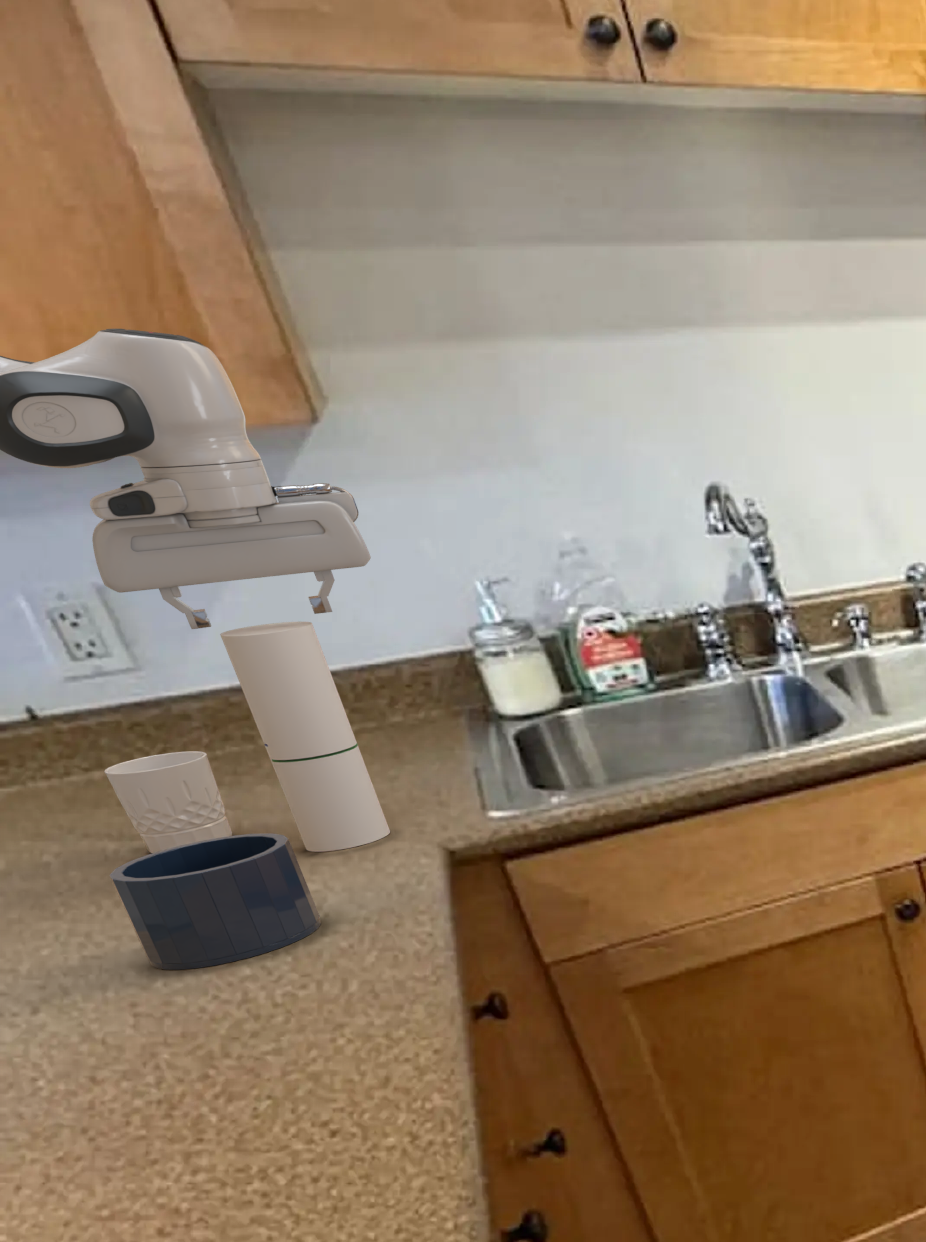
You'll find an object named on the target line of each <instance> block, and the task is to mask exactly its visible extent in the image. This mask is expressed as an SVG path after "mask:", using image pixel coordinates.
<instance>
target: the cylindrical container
mask: <svg viewBox="0 0 926 1242" xmlns="http://www.w3.org/2000/svg"><path fill="white" fill-rule="evenodd" d="M219 635H220V638H221V641H222V643H223V645H224V648H225V650H226V653H227V655H228V658H229V660H230V662H231V665H232V667H233V670H234V672H235V675H236V677H237V680H238V682H239V685H240V687H241V690H242V692H243V694H244V697H245V700H246V703H247V705H248V707H249V710H250V713H251V715H252V717H253V720H254V722H255V725H256V727H257V730H258V732H259V735H260V738H261V740H262V743H263V744H264V748H265V750H266V752H267V755H268V758H269V760H270V762H271V765H272V767H273V769H274V771H275V775H276V777H277V780H278V782H279V785H280V787H281V790H282V792H283V794H284V797H285V800H286V802H287V805H288V807H289V810H290V812H291V815H292V817H293V820H294V822H295V825H296V827H297V830H298V832H299V835H300V838H301V840H302V843H303V846H304V847H305V850H306V851H308V852H313V853H314V852H316V853H318V852H319V853H320V852H321V853H323V852H334V851H341V850H345V849H350V848H355V847H359V846H363V845H367V844H370V843H373V842H376V841H379V840H381V839H383V838H385V837H387V836H389V834H390V833H391V830H390V827H389V826H388V821H387V819H386V816H385V813H384V811H383V809H382V806H381V803H380V801H379V798H378V795H377V792H376V790H375V787H374V784H373V782H372V780H371V779H372V778H371V776H370V774H369V771H368V768H367V766H366V763H365V761H364V758H363V755H362V753H361V750H360V747H359V744H358V742H357V740H356V736H355V734H354V732H353V729H352V726H351V723H350V720H349V717H348V716H347V713H346V709H345V707H344V705H343V702H342V699H341V696H340V693H339V692H338V688H337V686H336V684H335V681H334V678H333V675H332V673H331V670H330V667H329V664H328V662H327V660H326V656H325V655H324V654H325V653H324V652H323V649H322V646H321V643H320V641H319V637H318V635H317V633H316V630H315V628H314V624H313V623H312V622H311V621H283V622H282V621H281V622H273V623H264V624H257V625H250V626H249V625H248V626H244V627H239V628H234V629H230V630H226V631H223V632H221V633H220V634H219Z"/></svg>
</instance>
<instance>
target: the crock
mask: <svg viewBox="0 0 926 1242" xmlns="http://www.w3.org/2000/svg"><path fill="white" fill-rule="evenodd" d="M109 879H110V881H111V883H112V885H113V887H114V889H115V891H116V893H117V895H118V898H119V900H120V902H121V904H122V907H123V909H124V910H125V914H126V915H127V917H128V920H129V921H130V924H131V926H132V928H133V931H134V933H135V935H136V937H137V940H138V942H139V944H140V946H141V949H142V950H143V952H144V954H145V957H146V958H147V960H148V962H149V964H150V966H151V967H153V968H155V969H159V970H166V971H177V970H180V971H181V970H191V969H200V968H201V969H202V968H207V967H213V966H214V967H215V966H220V965H224V964H229V963H233V962H239V961H241V960H246V959H249V958H252V957H256V956H259V955H263V954H266V953H270V952H273V951H276V950H278V949H280V948H284V947H286V946H288V945H291V944H293V943H296V942H298V941H300V940H302V939H304V938H307V937H308V936H310V935H311V934H313V933H314V932H316V931H317V930H318V929H319V928H320V926H321V925H322V920H321V919H320V913H319V911H318V909H317V906H316V904H315V900H314V898H313V896H312V894H311V890H310V888H309V886H308V884H307V881H306V879H305V876H304V874H303V871H302V869H301V866H300V864H299V861H298V858H297V857H296V854H295V852H294V849H293V847H292V844H291V842H290V839H289V838H288V837H287V836H285V835H283V834H278V833H246V834H236V835H232V836H227V837H221V838H215V839H209V840H204V841H199V842H195V843H190V844H186V845H181V846H177V847H173V848H169V849H166V850H162V851H159V852H155V853H149V854H146V855H143V856H140V857H138V858H135V859H132V860H129V861H128V862H125V863H123V864H121V865H120V866H118V867H116V868H115V869H113V871H112V872H110V874H109Z"/></svg>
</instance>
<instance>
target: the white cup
mask: <svg viewBox="0 0 926 1242" xmlns="http://www.w3.org/2000/svg"><path fill="white" fill-rule="evenodd" d="M103 772H104V774H105V776H106V777H107V779H108V781H109V783H110V785H111V788H113V791H114V793H115V795H116V797H117V799H118V800H119V803H120V805H121V807H122V808H123V810H124V812H125V813H126V816H127V818H128V819H129V821H130V823H132V826H133V828H134V830H135V831H136V832H137V833H138V835H139V837H140V838H141V841H142V842H143V845H144V847H145V849H146V850H147V851H148V852H149V853H150V854H152V853H155V852H159V851H162V850H166V849H169V848H173V847H177V846H181V845H186V844H190V843H195V842H199V841H204V840H209V839H215V838H221V837H227V836H233V831H232V828H231V826H230V822H229V820H228V817H227V816H226V807H225V805H224V802H223V799H222V795H221V792H220V789H219V785H218V783H217V780H216V778H215V774H214V772H213V768H212V766H211V763H210V760H209V757H208V754H207V753H206V752H204V751H196V750H193V751H191V750H190V751H176V752H175V751H174V752H167V753H161V754H155V755H148V756H144V757H138V758H134V759H131V760H126V761H123V762H119V763H116V764H114V765H111V766H108V767H107V768H105V770H104V771H103Z"/></svg>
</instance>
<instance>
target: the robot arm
mask: <svg viewBox="0 0 926 1242" xmlns="http://www.w3.org/2000/svg"><path fill="white" fill-rule="evenodd" d="M0 451H1V452H3V453H5V454H7V455H9V456H10V457H13V458H15V459H18V460H21V461H23V462H27V463H29V464H33V465H37V466H41V467H46V468H54V469H77V468H84V467H89V466H93V465H97V464H102V463H105V462H109V461H111V460H113V459H116V458H119V457H120V458H121V457H132V458H133V459H135V460H136V461H137V463H138V464H139V467H140V470H141V472H142V475H143V480H141V481H138V482H135V483H134V482H129V483H125V484H123V485H121V486H120V487H117V488H114V489H111V490H108V491H105V492H102V493H99V494H97V495H95V496H93V497H92V498H91V499H90V500H89V507H90V509H91V511H92V513H93V514H94V515H95V516H96V517H97V518H99V519H102V520H101V521H99V523H97V524H96V525H95V528H94V530H93V532H92V537H91V539H92V541H91V542H92V549H93V554H94V558H95V562H96V566H97V569H98V573H99V575H100V578H101V581H102V584H103V585H104V586H105V587H107V588H108V589H110V590H112V591H114V592H116V593H132V592H139V591H141V592H142V591H148V590H149V591H150V590H159V593H160V595H161V597H162V600H164V602H166V603H168V604H169V605H171V606H172V607H173V608H175V609H176V610H178V611H179V612H180V613H182V614H185V617H186V620H187V622H188V624H189V627H190V628H191V630H197V629H206V628H211V627H212V623H211V620H210V618H208V613H207V611H206V609H205V608H199V609H193V608H192V607H190V605H188V604H187V603H186V602H184V601H183V600H181V599H180V598H181V597H182V596H183V592H182V589H181V587H186V586H187V587H188V586H195V585H197V586H198V585H204V584H205V585H206V584H213V583H215V584H216V583H221V582H222V583H223V582H232V581H243V580H250V579H251V580H252V579H257V578H258V579H261V578H269V577H279V576H288V575H296V574H306V573H313V574H314V576H315V579H316V582H322V584H321V586H320V588H319V591H318V594H317V595H311V596H308V597H307V598H308V601H309V603H310V605H311V609H312V611H313V613H314V615H316V614H318V615H319V614H327V613H333V610H332V607H331V604H330V601H329V598H328V597H329V596H330V593H331V592H332V588H333V586H334V583H335V578H334V575H333V572H332V571H334V570H345V569H353V568H360V567H366V565H367V564H368V563H369V562H370V561H371V557H372V556H371V553H370V551H369V549H368V546H367V544H366V542H365V540H364V538H363V535H361V533H360V531H359V529H358V527H357V525H356V524H355V522H356V521H357V519H358V518H359V509H358V505H357V503H356V500H355V498H354V496H353V495H352V494H351V493H350V492H349V491H348V490H346V489H344V488H341V487H339V486H336V485H335V486H334V485H333V486H332V485H331V484H330V483H325V482H318V483H312V484H306V485H305V484H301V485H298V484H297V485H295V484H293V485H277V486H272V483H271V481H270V478H269V476H268V473H267V470H266V467H265V465H264V462H263V460H262V457H261V455H260V453H259V452H258V450H257V449H256V448H254V446H253V444H252V442H251V441H250V439H249V437H248V434H247V429H246V416H245V412H244V410H243V407H242V405H241V402H240V400H239V397H238V395H237V392H236V390H235V388H234V385H233V383H232V382H231V379H230V377H229V376H228V373H227V371H226V370H225V367H224V366H223V364H222V363H221V361H220V359H219V358H218V356H217V355H216V354H215V352H214V351H213V350H211V349H210V348H209V347H207V346H206V345H204V344H203V343H201V342H199V341H197V340H195V339H193V338H190V337H187V336H185V335H180V334H171V333H166V332H155V331H146V330H136V329H126V328H105V329H101V330H99V331H97V333H95V334H94V335H93V336H92V337H90V338H89V339H86V341H83V342H82V343H80V344H78V345H76V346H74V347H72V348H70V349H68V350H65V351H64V352H61V353H58V354H56V355H53V356H50V357H48V358H45V359H43V360H42V359H41V360H39V361H35V362H34V361H28V360H19V359H14V358H10V357H6V356H3V355H0ZM333 491H337V492H333Z"/></svg>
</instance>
